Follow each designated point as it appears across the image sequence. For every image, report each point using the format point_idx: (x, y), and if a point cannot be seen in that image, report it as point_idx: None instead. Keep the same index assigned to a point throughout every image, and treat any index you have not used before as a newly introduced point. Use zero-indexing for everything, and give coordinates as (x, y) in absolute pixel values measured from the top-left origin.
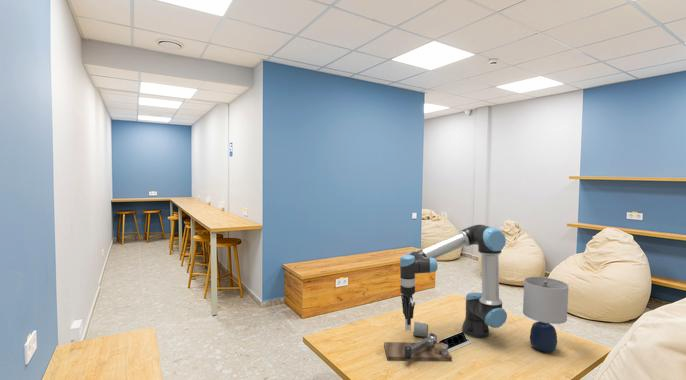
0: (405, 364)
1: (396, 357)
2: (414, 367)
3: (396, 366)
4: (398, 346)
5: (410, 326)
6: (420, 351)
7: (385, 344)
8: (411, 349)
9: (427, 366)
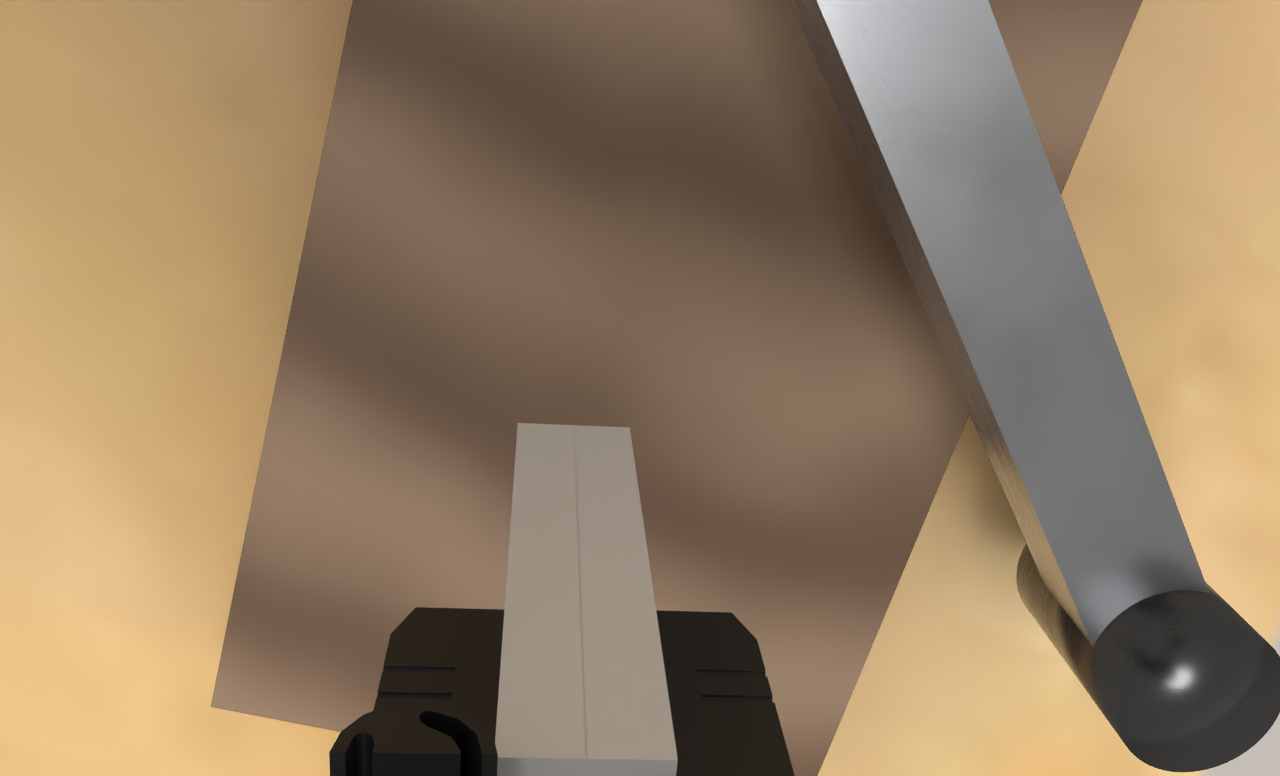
0: (1008, 531)
1: (853, 670)
2: (1160, 420)
3: (1004, 694)
4: (468, 490)
5: (641, 517)
6: (828, 91)
7: (321, 711)
8: (1180, 574)
9: (1242, 158)
